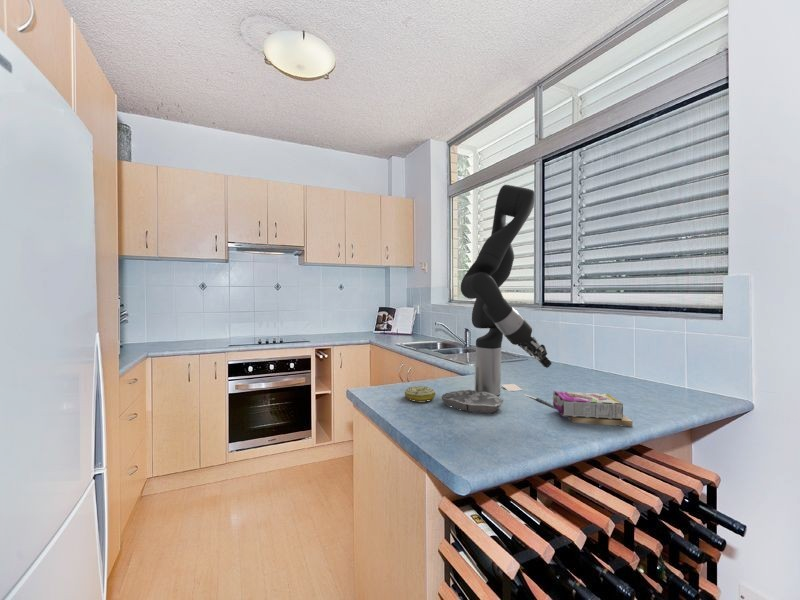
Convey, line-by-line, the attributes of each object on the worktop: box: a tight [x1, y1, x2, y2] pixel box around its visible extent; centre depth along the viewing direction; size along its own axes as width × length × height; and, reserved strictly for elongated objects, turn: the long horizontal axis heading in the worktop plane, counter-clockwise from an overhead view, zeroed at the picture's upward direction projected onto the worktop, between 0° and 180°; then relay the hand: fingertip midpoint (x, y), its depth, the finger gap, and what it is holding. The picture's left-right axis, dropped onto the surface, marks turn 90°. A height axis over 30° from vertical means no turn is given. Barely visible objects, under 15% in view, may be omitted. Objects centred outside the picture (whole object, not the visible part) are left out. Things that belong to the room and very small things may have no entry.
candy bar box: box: [552, 390, 624, 420], centre depth 112 cm, size 11×5×16 cm
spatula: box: [501, 383, 558, 411], centre depth 133 cm, size 6×29×2 cm, turn 17°
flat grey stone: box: [441, 389, 504, 414], centre depth 122 cm, size 20×17×3 cm
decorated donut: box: [404, 385, 436, 401], centre depth 129 cm, size 10×11×4 cm
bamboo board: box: [566, 414, 634, 427], centre depth 114 cm, size 16×16×2 cm
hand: (548, 365), depth 113 cm, fingers closed
